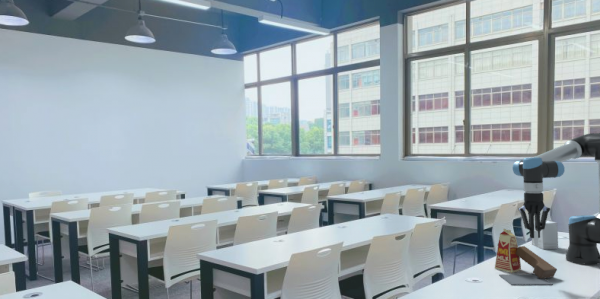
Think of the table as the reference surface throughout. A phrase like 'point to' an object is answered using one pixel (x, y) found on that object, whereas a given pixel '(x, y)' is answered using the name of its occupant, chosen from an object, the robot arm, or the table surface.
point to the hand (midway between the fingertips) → (535, 245)
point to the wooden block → (536, 263)
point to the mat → (524, 279)
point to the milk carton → (507, 253)
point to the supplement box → (548, 236)
